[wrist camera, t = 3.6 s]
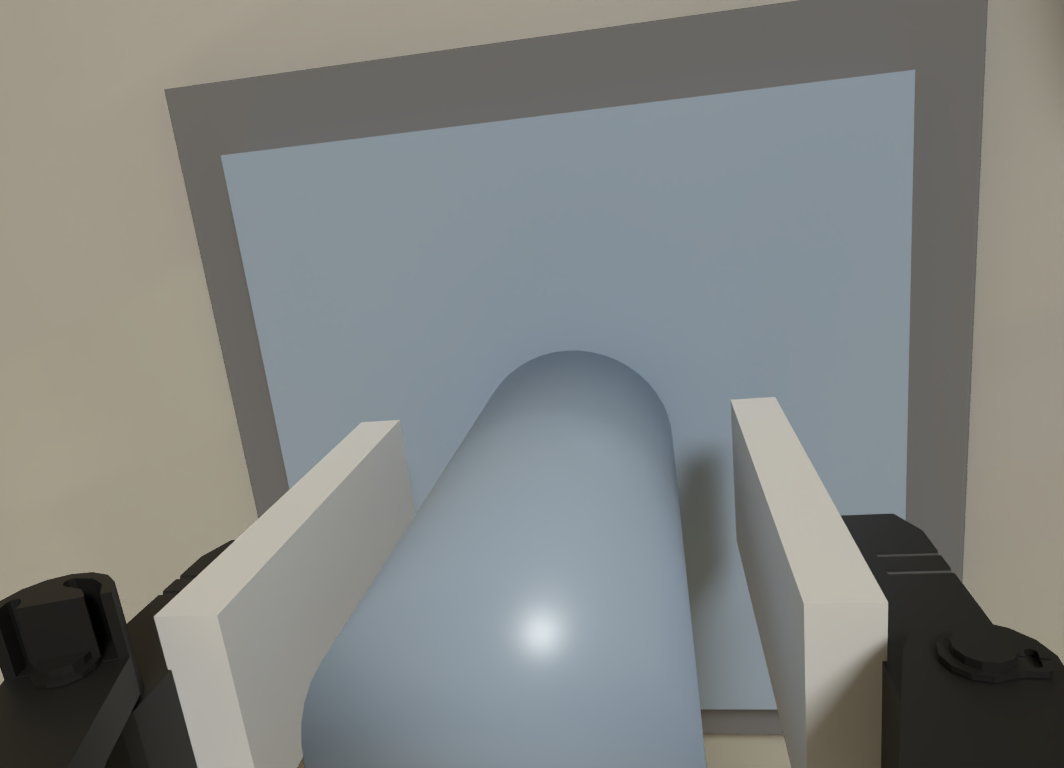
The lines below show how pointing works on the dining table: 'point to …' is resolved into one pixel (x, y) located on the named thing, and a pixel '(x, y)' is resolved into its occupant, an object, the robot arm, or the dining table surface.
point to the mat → (625, 79)
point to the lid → (580, 398)
